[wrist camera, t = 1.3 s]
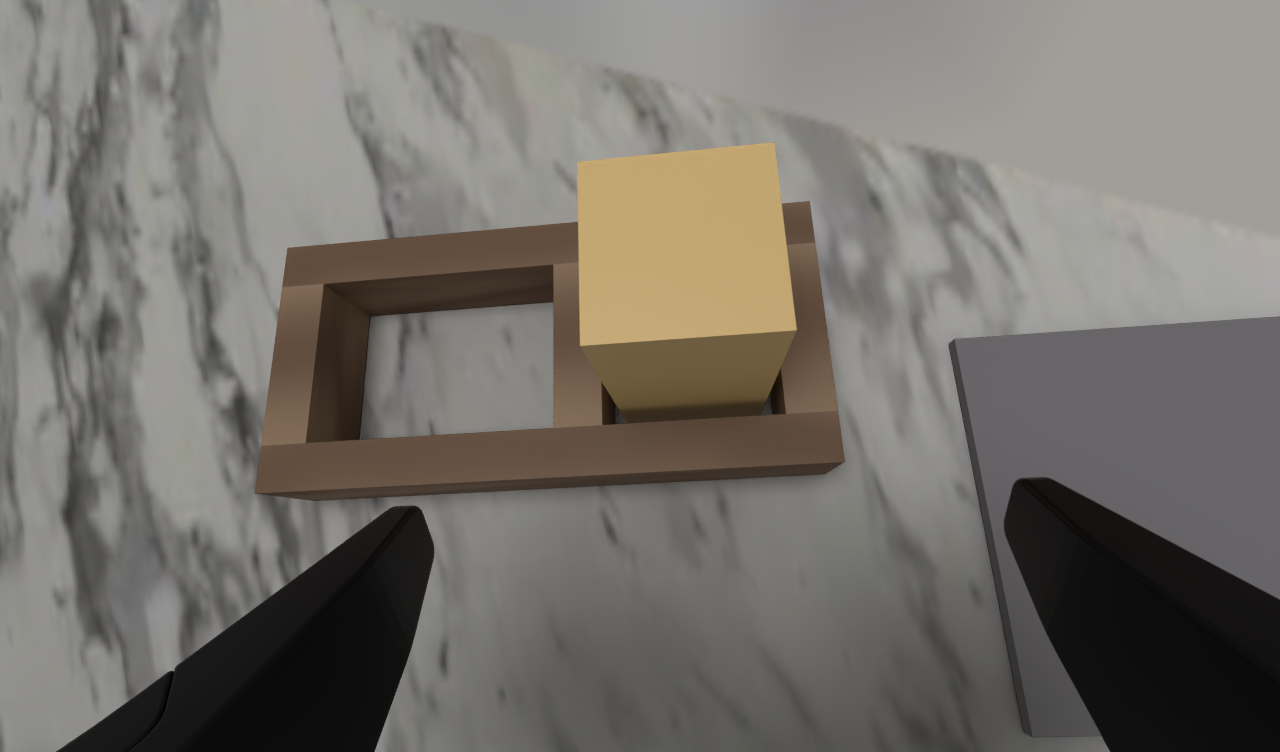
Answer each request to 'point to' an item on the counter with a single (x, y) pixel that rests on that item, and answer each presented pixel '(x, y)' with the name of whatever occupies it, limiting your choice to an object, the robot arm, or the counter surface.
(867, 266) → the counter surface
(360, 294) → the brown divided frame
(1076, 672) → the robot arm
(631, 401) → the ochre plug
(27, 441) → the counter surface
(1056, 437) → the charcoal mat
